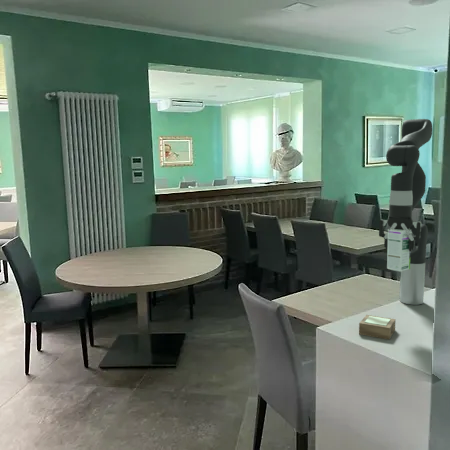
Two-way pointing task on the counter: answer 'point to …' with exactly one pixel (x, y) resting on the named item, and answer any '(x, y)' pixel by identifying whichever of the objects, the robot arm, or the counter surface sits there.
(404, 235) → the syrup box
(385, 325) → the plinth
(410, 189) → the robot arm
